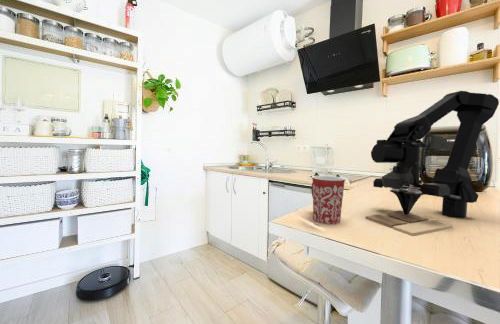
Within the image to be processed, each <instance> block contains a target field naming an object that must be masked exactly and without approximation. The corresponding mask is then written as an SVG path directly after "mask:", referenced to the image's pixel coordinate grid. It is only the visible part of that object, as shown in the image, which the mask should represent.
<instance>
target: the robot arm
mask: <svg viewBox="0 0 500 324" xmlns="http://www.w3.org/2000/svg"><path fill="white" fill-rule="evenodd" d="M499 103H500V100H499V99H498V97H496V96H494V95H493V94H490V93H479V92H470V91H468V90H458V91H455V92H449V93H447V94H445V95H444V96H443V97H442V98H440V99H439V100H438V101H437V102H434V104H432V105H431V106H429V107H428V108H427V109H425V110H424V111H422V112H420V113H419V114H418V115H415V116H412V117H410V118H407V119H404V120H401V121H398V122H397V123H396V124H395V125H394V127H393V128H394V129H393V130H392V132H391V133H390V134H389V136H388V138H386V139H376V144H374V145H373V147H372V149H371V150H370V156H371V159H372V161H373V162H374V163H378V164H379V163H380V164H382V163H384V164H388V163H389V164H392V163H393V164H394V163H396V164H395V165H393V167H392V171H390V172H388V173H386V174H385V175H382V176H381V177H380V178H377V177H376V178H375V179H373V182H372V183H373V187H374V188H381V189H382V188H385V189H387V188H388V189H389V188H390V190H389V191H390V193H392V194H394V195H395V196H396V197H397V199H398V201H399V204H400V206H401V209H402V211H403V212H404V214H406V215H407V214H409V213H411V211H412V210H413V208H414V206H415V205H416V202H418V200H419V199H420V198H421V196H424V195H426V196H433V197H439V198H442V205H441V206H442V207H441V216H445V217H449V218H458V219H459V218H460V219H465V218H467V213H468V203H470V204H471V203H472V204H473V203H476V202H477V201H478V198H479V194H478V193H477V192H476V191H475V189H474V188H473V187H472V185H471V184H472V177H471V174H470V172H469V170H468V169H469V166H470V164H471V160H472V157H473V154H474V151H475V148H476V145H477V142H478V140H479V136H480V133H481V131H482V128H483V126H484V125H485V123H486V122H488V121H490V119H491V118H493V117H494V115H495V113H496V111H497V109H498V107H499V105H500V104H499ZM451 112H456V118H457V119H458V120H459V127H458V129H457V132H456V135H455V138H454V141H453V143H452V147H451V150H450V153H449V157H448V159H447V163H446V164H445V166H444V167H442V168H436V170H435V172H434V175H433V178H432V179H431V181H432V182H431V183H430V182H429V183H428V182H427V183H423V179H422V180H421V179H420V171H423V166H421V163H420V162H421V149H423V148H424V149H425V148H427V147H428V145H427V144H425V143H424V142H423V141H422V139H424V138H425V137H426V135H428V134H429V133H430V132H431V130H432V126H433V125H434V124H436V123H437V122H438V121H439V120H441V119H443V118H444V117H446V116H447V115H448V114H450V113H451Z"/></svg>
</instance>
